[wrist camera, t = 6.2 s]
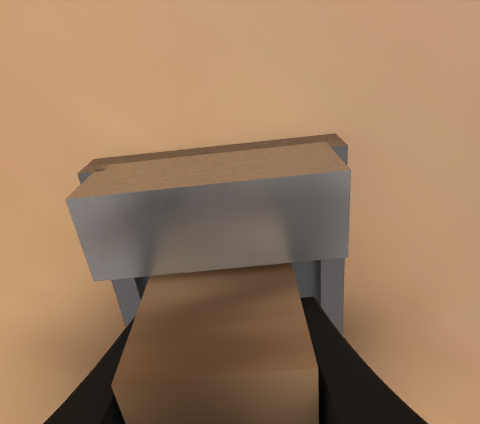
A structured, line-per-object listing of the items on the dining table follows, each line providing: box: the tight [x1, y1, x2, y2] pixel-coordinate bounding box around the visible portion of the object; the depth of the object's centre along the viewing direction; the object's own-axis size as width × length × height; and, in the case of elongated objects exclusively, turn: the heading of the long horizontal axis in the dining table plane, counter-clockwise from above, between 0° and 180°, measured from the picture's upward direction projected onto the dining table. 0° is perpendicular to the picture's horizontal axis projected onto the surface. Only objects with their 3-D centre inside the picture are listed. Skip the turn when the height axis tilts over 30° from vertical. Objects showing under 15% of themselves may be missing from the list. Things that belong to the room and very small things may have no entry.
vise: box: [66, 134, 351, 335], centre depth 14 cm, size 8×17×3 cm, turn 6°
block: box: [111, 263, 319, 424], centre depth 10 cm, size 4×4×5 cm
